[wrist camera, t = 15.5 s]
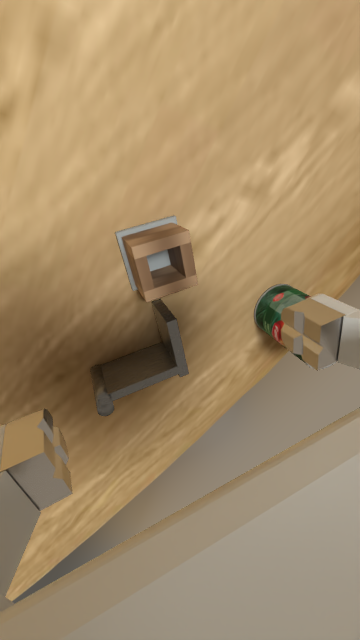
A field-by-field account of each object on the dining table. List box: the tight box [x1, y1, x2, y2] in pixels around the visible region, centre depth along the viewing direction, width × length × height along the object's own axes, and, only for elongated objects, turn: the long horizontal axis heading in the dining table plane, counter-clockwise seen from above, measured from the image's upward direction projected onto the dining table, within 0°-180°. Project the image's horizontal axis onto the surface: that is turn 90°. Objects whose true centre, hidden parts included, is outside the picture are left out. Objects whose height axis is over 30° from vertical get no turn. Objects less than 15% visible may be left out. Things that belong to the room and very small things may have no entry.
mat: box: [115, 216, 177, 291], centre depth 35 cm, size 7×7×1 cm
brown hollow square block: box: [121, 222, 198, 302], centre depth 32 cm, size 6×6×5 cm
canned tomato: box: [254, 284, 336, 369], centre depth 41 cm, size 8×8×11 cm
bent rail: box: [90, 299, 189, 416], centre depth 36 cm, size 12×8×8 cm
